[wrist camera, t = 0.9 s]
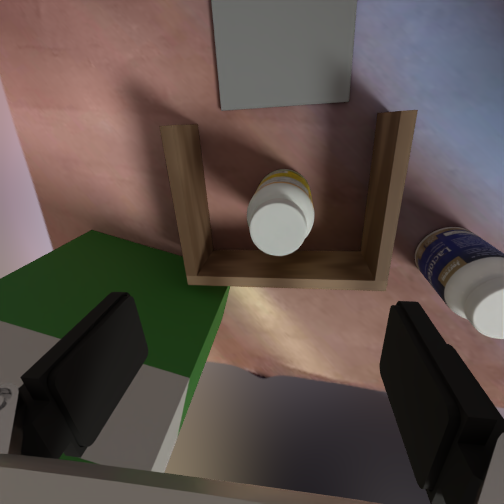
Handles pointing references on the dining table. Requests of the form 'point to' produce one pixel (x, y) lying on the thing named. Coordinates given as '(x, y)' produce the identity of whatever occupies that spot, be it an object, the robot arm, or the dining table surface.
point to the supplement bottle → (281, 212)
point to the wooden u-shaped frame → (298, 262)
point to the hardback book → (153, 323)
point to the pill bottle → (466, 276)
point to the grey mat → (283, 51)
